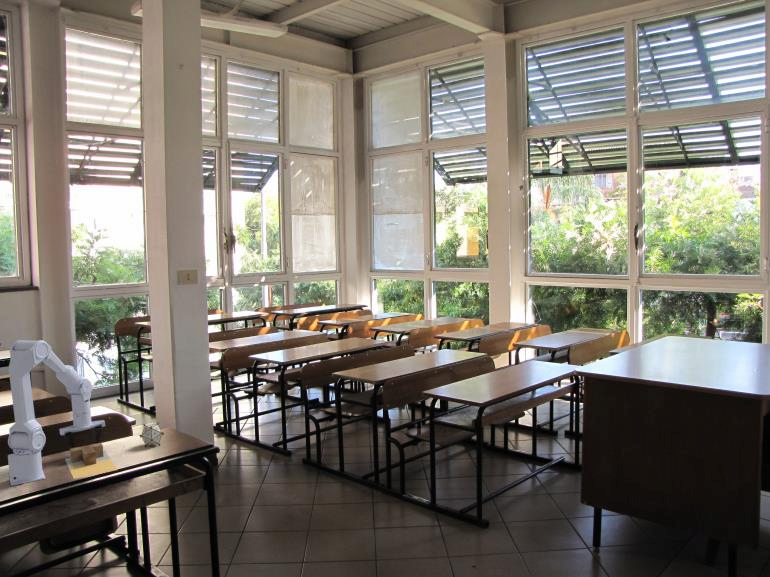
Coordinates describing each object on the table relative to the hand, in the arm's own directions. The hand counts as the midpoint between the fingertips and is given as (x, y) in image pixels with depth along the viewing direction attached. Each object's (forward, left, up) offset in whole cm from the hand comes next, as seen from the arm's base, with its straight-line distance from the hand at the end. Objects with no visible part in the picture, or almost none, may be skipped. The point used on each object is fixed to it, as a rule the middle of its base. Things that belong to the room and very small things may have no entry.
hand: (84, 450), depth 230 cm
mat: (0, -13, -2) cm, 13 cm away
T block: (0, -9, -1) cm, 9 cm away
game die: (+22, -5, -2) cm, 23 cm away
